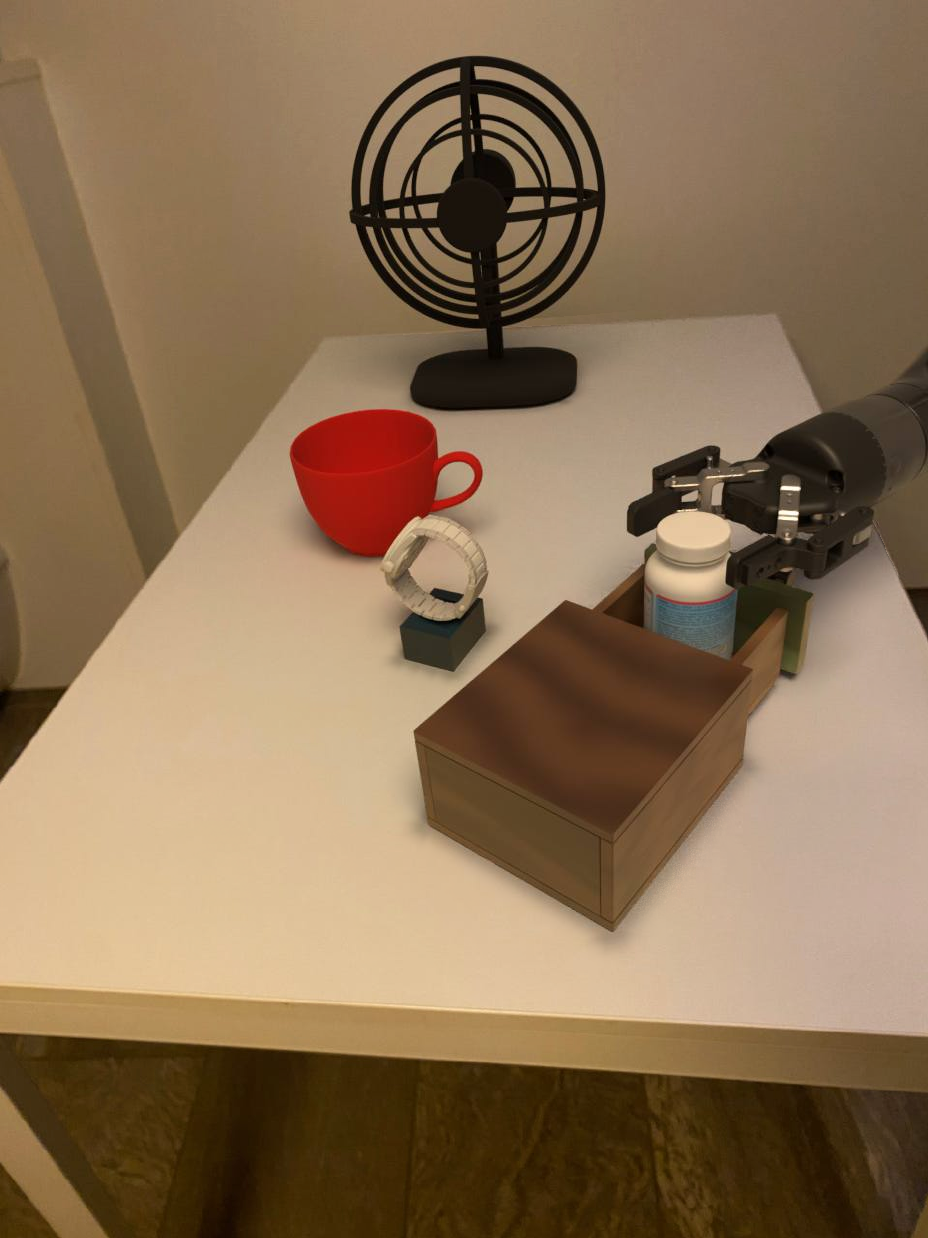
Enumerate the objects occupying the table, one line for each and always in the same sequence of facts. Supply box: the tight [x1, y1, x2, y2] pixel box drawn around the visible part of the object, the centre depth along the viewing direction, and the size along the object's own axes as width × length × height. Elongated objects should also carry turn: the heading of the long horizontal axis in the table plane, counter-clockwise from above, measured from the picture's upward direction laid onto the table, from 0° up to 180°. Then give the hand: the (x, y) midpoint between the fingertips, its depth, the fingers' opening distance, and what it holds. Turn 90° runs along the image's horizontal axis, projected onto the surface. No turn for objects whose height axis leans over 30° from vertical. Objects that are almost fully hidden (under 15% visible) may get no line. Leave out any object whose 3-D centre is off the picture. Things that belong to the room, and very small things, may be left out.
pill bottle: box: [644, 511, 738, 660], centre depth 64 cm, size 6×6×11 cm
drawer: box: [591, 542, 815, 716], centre depth 67 cm, size 19×12×6 cm, turn 141°
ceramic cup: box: [289, 408, 484, 557], centre depth 86 cm, size 13×17×10 cm
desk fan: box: [348, 55, 607, 409], centre depth 105 cm, size 27×18×35 cm, turn 84°
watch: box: [379, 514, 490, 672], centre depth 72 cm, size 6×8×11 cm
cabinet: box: [412, 599, 753, 932], centre depth 59 cm, size 16×14×8 cm
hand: (677, 547), depth 61 cm, fingers open, 8 cm apart
